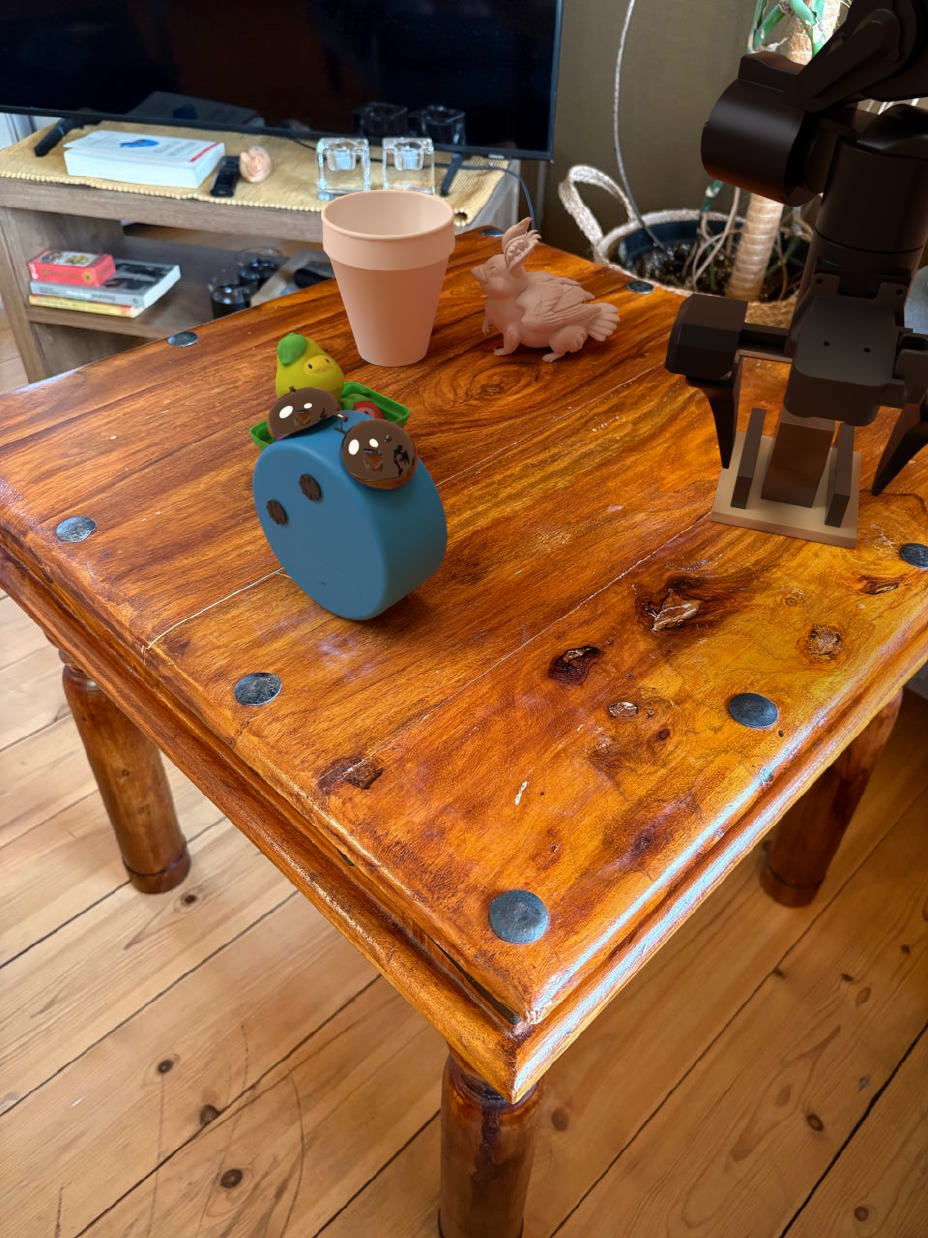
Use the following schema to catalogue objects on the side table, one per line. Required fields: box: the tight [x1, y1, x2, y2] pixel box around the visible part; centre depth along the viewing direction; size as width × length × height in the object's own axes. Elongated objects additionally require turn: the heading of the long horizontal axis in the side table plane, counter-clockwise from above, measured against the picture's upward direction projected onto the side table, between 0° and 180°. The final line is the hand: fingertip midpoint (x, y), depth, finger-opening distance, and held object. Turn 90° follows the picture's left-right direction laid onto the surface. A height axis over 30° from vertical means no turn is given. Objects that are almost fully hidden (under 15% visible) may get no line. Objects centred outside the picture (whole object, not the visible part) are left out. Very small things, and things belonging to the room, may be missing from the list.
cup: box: [320, 188, 456, 368], centre depth 95 cm, size 12×12×14 cm
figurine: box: [470, 216, 621, 363], centre depth 96 cm, size 8×15×13 cm, turn 100°
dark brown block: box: [761, 380, 838, 508], centre depth 79 cm, size 4×7×7 cm, turn 162°
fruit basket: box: [248, 331, 411, 454], centre depth 79 cm, size 11×9×11 cm
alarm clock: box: [252, 386, 449, 621], centre depth 66 cm, size 13×6×15 cm, turn 49°
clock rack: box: [709, 406, 862, 550], centre depth 80 cm, size 11×13×4 cm
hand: (798, 479), depth 63 cm, fingers open, 9 cm apart
